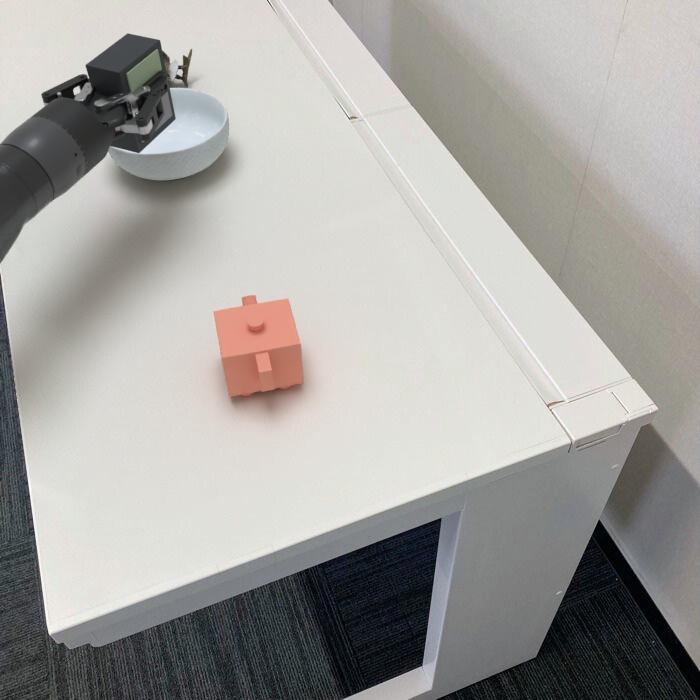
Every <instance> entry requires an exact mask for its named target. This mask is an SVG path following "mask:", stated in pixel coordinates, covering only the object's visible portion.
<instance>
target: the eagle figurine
mask: <svg viewBox="0 0 700 700" xmlns="http://www.w3.org/2000/svg"><path fill="white" fill-rule="evenodd" d="M162 52H163V57H164V62H165V67H166V72H167V77H168V78H169V79H170V81H171V82H173V81H174V80H175V79H176V80H179V81H182V83H183V85H184V86H185V88H188V86H189V84H188V77H189V76H188V75H189V69H190V65H191V60H192V56H193V48H190V49H189V52H188V53H187V56H186V55H184V54H183V55H182V64H181V65H180V64H179V63H178V61H177V59H174V60H173V61H172V62H171V59H170V56H169V55H168V54H167V53H166V52H165V51H164V50H163V49H162ZM179 70H181V71H182V74H181V75H179V74H178V72H179Z"/></svg>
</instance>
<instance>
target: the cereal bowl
mask: <svg viewBox="0 0 700 700" xmlns="http://www.w3.org/2000/svg"><path fill="white" fill-rule="evenodd" d="M170 92H171V97H172V102H173V107H174V112H175V117H176V119H175V120H174V121H173V122H172V123H171V124H170V125H169V126H168V127H167V128H166V129H165V130H164V131H163V132H161V133H160V134H159V135H158V136H157V137H156V138H155V139H154V140H153V141H152V142H151V143H150V144H149V145H148V146H146V147H145V148H144V149H143V150H142V151H141V152H140V153H136V152H132V151H128V150H124V149H120V148H116V147H112V146H110V147H109V150H108V154H109V156H110V157H111V159H112V160H113V161H114V163H115V164H116V165H117V166H118V167H119V168H121V169H122V170H123V171H125V172H127V173H129V174H131V175H132V176H135V177H138V178H141V179H145V180H151V181H152V180H153V181H171V180H172V181H174V180H180V179H183V178H184V179H185V178H187V177H190V176H194V175H196V174H198V173H200V172H202V171H204V170H205V169H207V168H209V167H210V166H211V165H212V164H214V163H215V162H216V161H217V160H218V159H219V157H220V156H221V155H222V154H223V152H224V150H225V149H226V147H227V145H228V141H229V137H230V136H229V135H230V122H229V121H230V118H229V112H228V110H227V107H226V106H225V104H224V103H223V102H222V100H220V99H219V98H218V97H216V96H215V95H213V94H212V93H209V92H206V91H202V90H200V89H194V88H188V87H170Z"/></svg>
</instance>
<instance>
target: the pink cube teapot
mask: <svg viewBox="0 0 700 700" xmlns="http://www.w3.org/2000/svg"><path fill="white" fill-rule="evenodd" d="M241 302H242V303H241V304H242V305H240V306H235V307H230V308H229V307H228V308H223V309H218V310H214V311H213V317H214V322H215V323H214V324H215V327H216V328H215V329H216V334H217V340H218V345H219V351H220V356H221V357H220V358H221V363H222V368H223V372H224V377H225V382H226V383H225V384H226V387H227V394H228V397H229V398H232V397H236V396H242V397H250V396H252V395H253V394H254V393H258V392H262V393H264V392H269V391H274V390H275V389H280V390H288V389H290V388H291V387H292V386H295V385H300V384H305V381H304V367H303V354H302V345H301V340H300V336H299V333H298V329H297V325H296V322H295V318H294V315H293V311H292V307H291V303H290V300H289V298H281V299H277V300H270V301H264V302H258V301H257V296H256V295H255V294H251V295H245V296H242V297H241Z"/></svg>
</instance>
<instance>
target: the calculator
mask: <svg viewBox="0 0 700 700" xmlns="http://www.w3.org/2000/svg"><path fill="white" fill-rule="evenodd" d="M162 50H163V48H162V43H161V40H160V39H157V38H153V37H148V36H142V35H137V34H133V33H126V34H124V35H123V36H122V37H120V38H119V39H117V41H115V42H114V43H112V44H111V45H110V46H109V47H107V48H105V50H103V51H102V52H101V53H99V54H98V55H97V56H95V57H94V58H93V59H91V60H90V61H88V62H87V63H86V64H85V69H86V74H87V77H88V79H89V80H90V84H91V85H95V87H96V91H95V93H100V94H103V95H105V96H108V97H111V96H113V95H115V94H117V93H119V92H125V91H129V92H131V93H132V92H133V91H135V90H136V89H137V88H139V87H141V86H143V84H144V83H145V82H147V81H148V80H149V79H150V78H151V77H152V76H154V75H155V74H156V73H157V72H158V71H161V72H165V73H166V76H167V72H166V67H165V62H164V57H163V52H162ZM167 80H168V85H169V91H168V92H167V93H165V94H164V95H163V96H162V97H161V99H162V103H163V108H164V113H165V114H164V116H163V118H162V120H161V121H160V123H159V125H158V127H157V129H156V130H155V132H154V134H153V136H152V137H151V139H150V140H147V141H142V140H141V139H140V136H139V134H138V133H126V134H125V135H124V136H123V137H121V138H118V139H116V140H114V141H112V143H111V145H110V146H112V147H116V148H120V149H124V150H128V151H132V152H136V153H140V152H141V151H142V150H143V149H144V148H145V147H146V146H148V145H149V144H150V143H151V142H152V141H153V140H154V139H155V138H156V137H157V136H158V135H159V134H160V133H161V132H163V131H164V130H165V129H166V128H167V127H168V126H169V125H170V124H171V123H172V122H173V121H174V120H175V119H176V117H175V112H174V107H173V102H172V97H171V92H170V88H171V87H170V83H169V77H167ZM95 93H94V94H95ZM123 104H124V107H125V111H126V114H129V111H128V107H127V103H126V101H125V102H123ZM136 104H137V107H138V106H140V105H141V104H142V100H141V98H139V99H138V100H137V101H136Z"/></svg>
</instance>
